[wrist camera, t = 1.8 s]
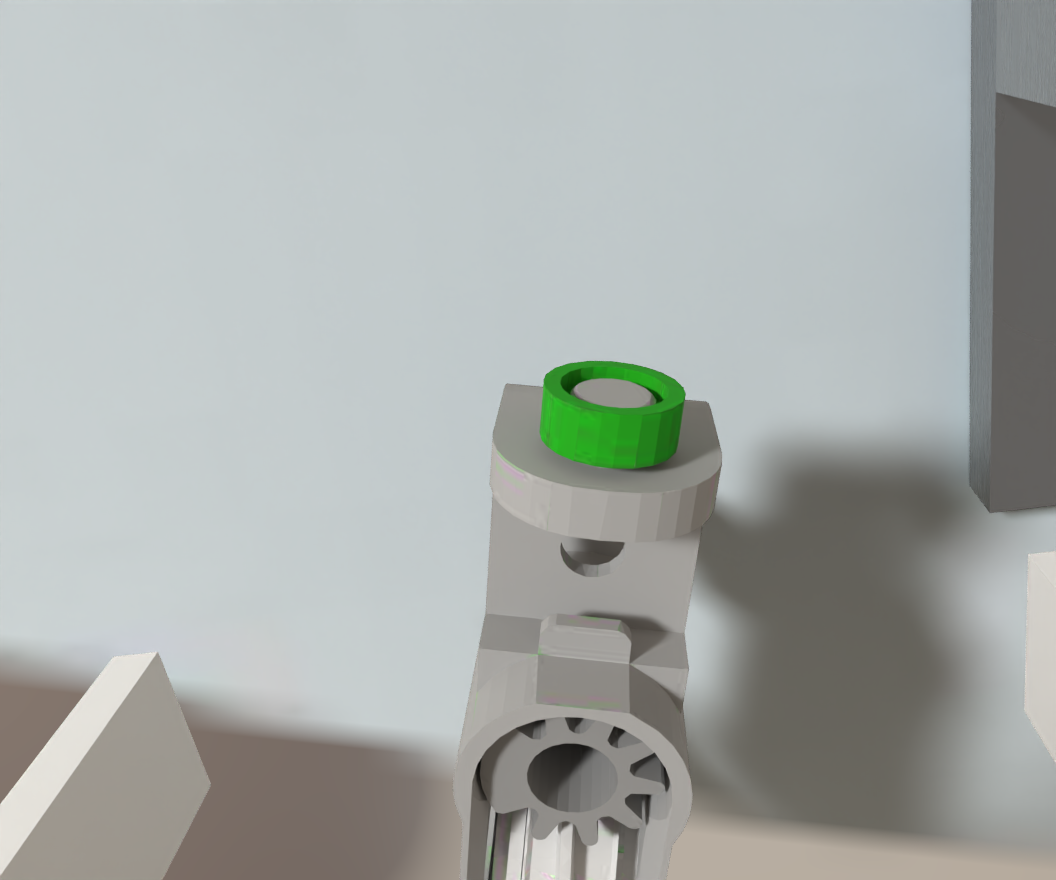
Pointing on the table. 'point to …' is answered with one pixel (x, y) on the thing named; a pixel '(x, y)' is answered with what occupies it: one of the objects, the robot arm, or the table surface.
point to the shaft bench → (1013, 254)
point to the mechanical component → (586, 628)
